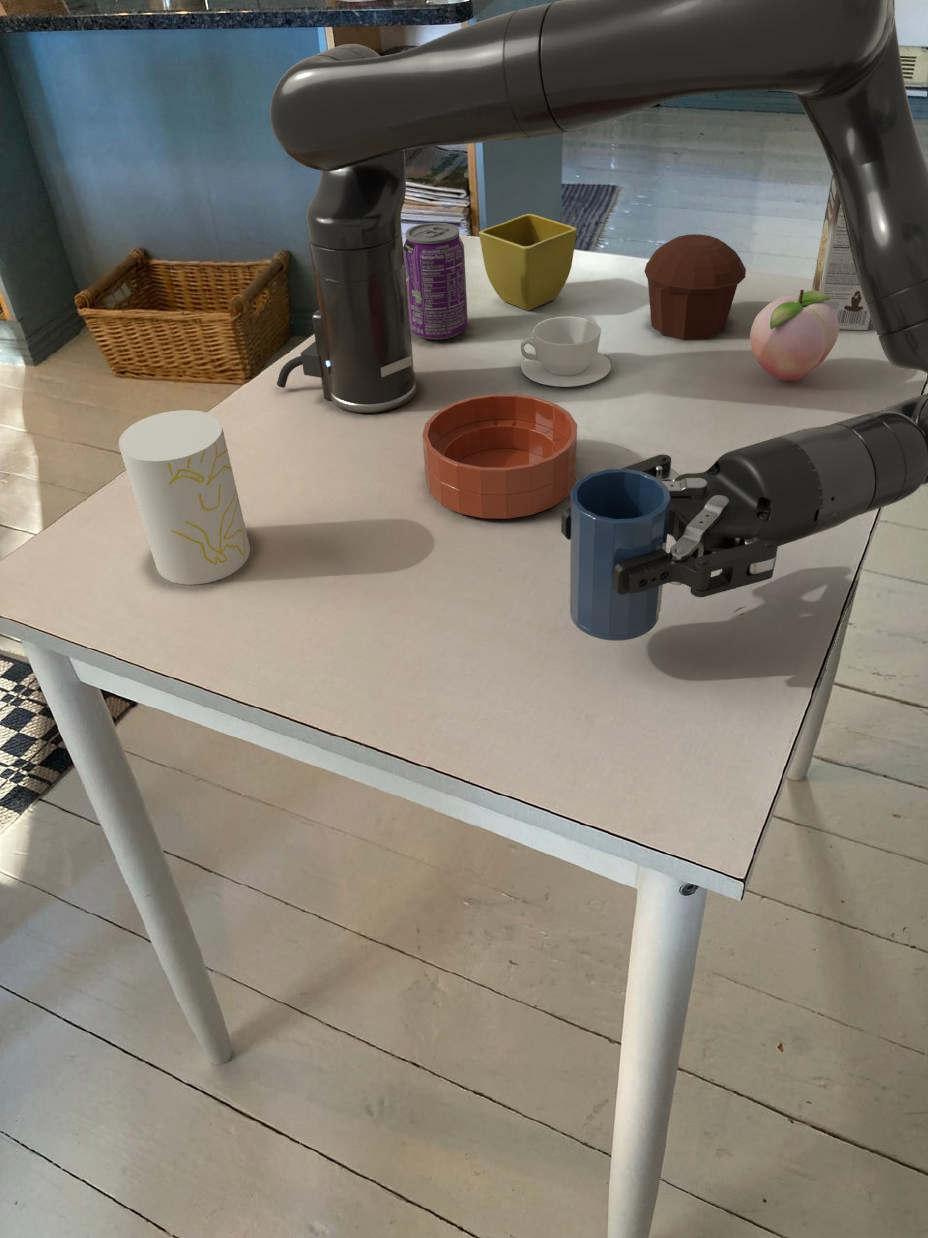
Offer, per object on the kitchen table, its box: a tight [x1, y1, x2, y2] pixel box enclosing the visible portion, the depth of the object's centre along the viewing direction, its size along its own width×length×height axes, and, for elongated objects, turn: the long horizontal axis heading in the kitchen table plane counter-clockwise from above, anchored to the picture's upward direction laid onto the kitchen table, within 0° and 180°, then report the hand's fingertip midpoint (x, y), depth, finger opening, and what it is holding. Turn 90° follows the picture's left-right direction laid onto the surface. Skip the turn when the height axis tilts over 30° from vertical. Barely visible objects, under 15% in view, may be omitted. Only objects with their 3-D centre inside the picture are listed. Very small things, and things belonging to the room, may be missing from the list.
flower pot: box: [478, 213, 578, 311], centre depth 124 cm, size 9×9×9 cm
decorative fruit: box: [749, 289, 840, 382], centre depth 104 cm, size 9×8×10 cm
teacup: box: [520, 316, 612, 388], centre depth 110 cm, size 10×10×5 cm
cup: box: [118, 409, 251, 586], centre depth 83 cm, size 8×8×12 cm
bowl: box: [421, 393, 578, 520], centre depth 92 cm, size 14×14×6 cm
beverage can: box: [403, 222, 469, 341], centre depth 117 cm, size 7×7×12 cm
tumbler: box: [568, 468, 671, 642], centre depth 68 cm, size 6×6×10 cm
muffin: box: [644, 233, 747, 341], centre depth 116 cm, size 12×11×10 cm
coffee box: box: [811, 174, 871, 331], centre depth 114 cm, size 9×6×16 cm
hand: (589, 552), depth 67 cm, fingers closed on tumbler, 6 cm apart
